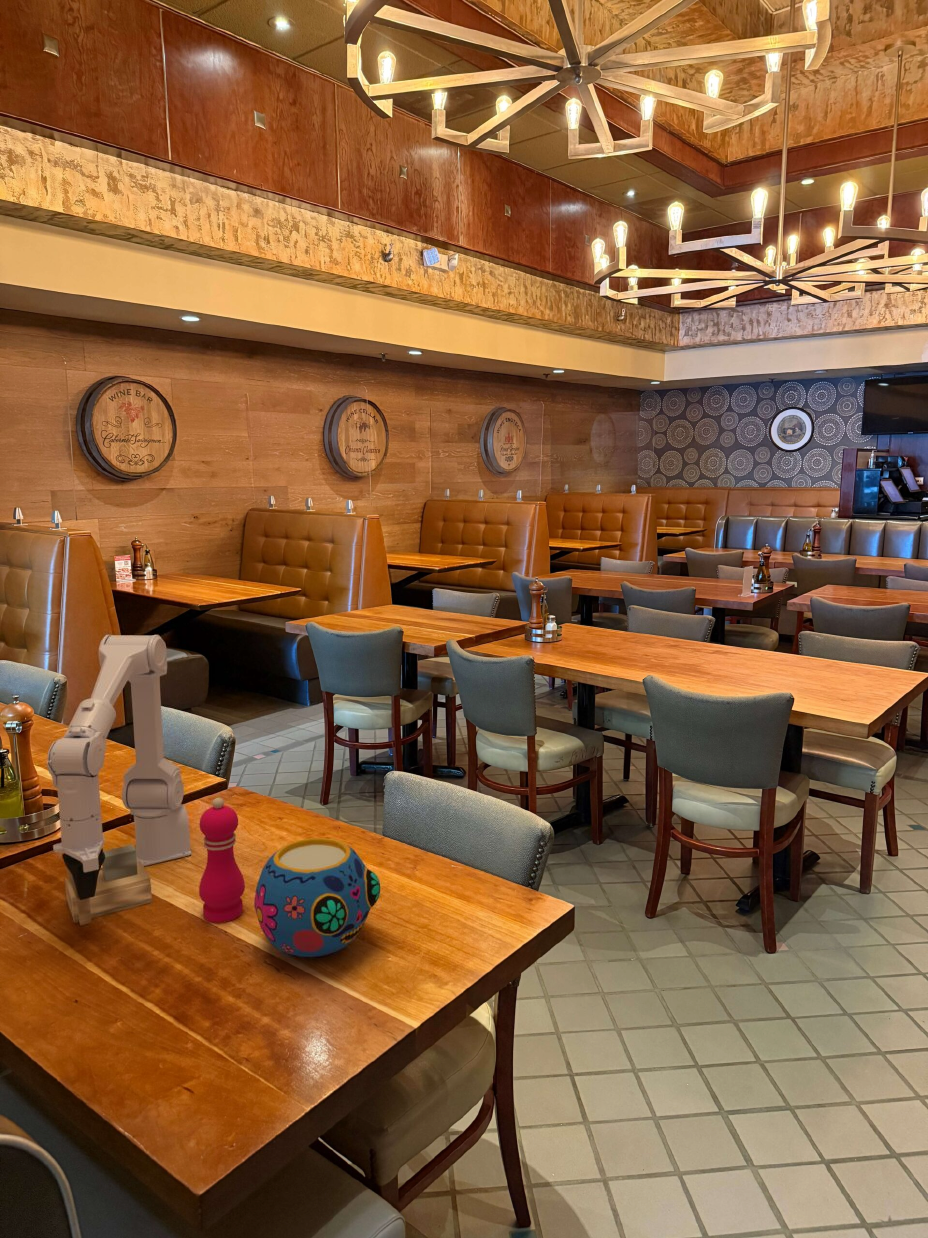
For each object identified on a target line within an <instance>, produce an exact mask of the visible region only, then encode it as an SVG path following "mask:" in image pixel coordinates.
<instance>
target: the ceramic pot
mask: <svg viewBox="0 0 928 1238" xmlns="http://www.w3.org/2000/svg"><path fill="white" fill-rule="evenodd" d="M380 882H381V881H380V879H379V877H378V875H377V874H376V873H375V872H374V871H372V870H371V869H369V868H368V867H367V866H366V864H365V863H364V862H363V860H362V858H361V856H359V855H358V853H357V852H356V851H355V849H353V848H352V847H350V846H349V845H347V844H346V843H344V842H342V841H341V840H336V839H333V838H325V837H315V838H314V837H313V838H312V837H311V838H305V839H299V840H296V841H292V842H290V843H287V844H286V845H283V846H281V847H280V848H279V849H277V850H276V851H275V852H274V853H273V854H272V855H271V856H270V857H269V858H268V860H267V861H266V862H265V864H264V865H263V868H262V870H261V871H260V875H259V878H258V881H257V884H256V888H255V894H254V899H253V900H254V905H253V906H254V909H255V914H256V917H257V920H258V924H259V927H260V930H261V932H262V933H263V935H264V936H265V937H266V938H267V940H268V941H269V942H270V943H271V944H272V946H273V947H275V948H276V949H278V950H280V951H281V952H282V953H285V954H286V955H287V954H288V955H292V956H295V957H296V956H297V957H301V958H315V957H322V956H327V955H331V954H332V953H333V954H334V953H336V952H338V951H340V950H342V949H343V948H345V947H347V946H348V945H349V944H351V943H352V942H353V941H354V940H355V939H356V938H357V936H358V935H359V933H360V932H361V930H363V929H362V928H363V927H364V925H365V923H366V921H367V918H368V917H369V913H370V911H371V910H372V908H373V907H374V906H375V905H376V904H377V902H378V900H379V898H380V895H381V883H380Z"/></svg>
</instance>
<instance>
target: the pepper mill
mask: <svg viewBox="0 0 928 1238" xmlns="http://www.w3.org/2000/svg"><path fill="white" fill-rule="evenodd" d="M224 802H225V801H224V799H223V798H221V797H215V798H214V799H213V800H212V804H211V805H212V806H211V807H209V808H207V809H206V810H204V812H203V813H202V815H201V816H200V818H199V819H200V820H199V829H200V832H201V834H202V835H204V837H203V846H204V848H205V849H206V851H207V854H206V855H207V859H206V861H207V862H206V865H205V869H204V871H203V874H202V876H201V878H200V881H199V887H198V895H199V898H200V899H201V901H202V902H203V905H202V912H203V913H202V915H203V918H204V919H205V920H206V921H208V922H211V923H215V924H216V923H217V924H221V923H228V922H231V921H233V920H235V919H237V918H239V917H240V916H241V915H242V913H243V912H244V911H243V910H244V906H243V905H244V904H243V899H242V896H243V895H244V893H245V889H246V884H245V879H244V876H243V873H242V871H241V869H240V867H239V866H238V864H237V861H236V859H235V853H234V846H235V845H236V843H237V839H236V836H237V834H236V833H235V831H236V830H237V828H238V826H239V817H238V813H236V810H235V809H234V808H232V807H231V806H228V805H225V803H224Z"/></svg>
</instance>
